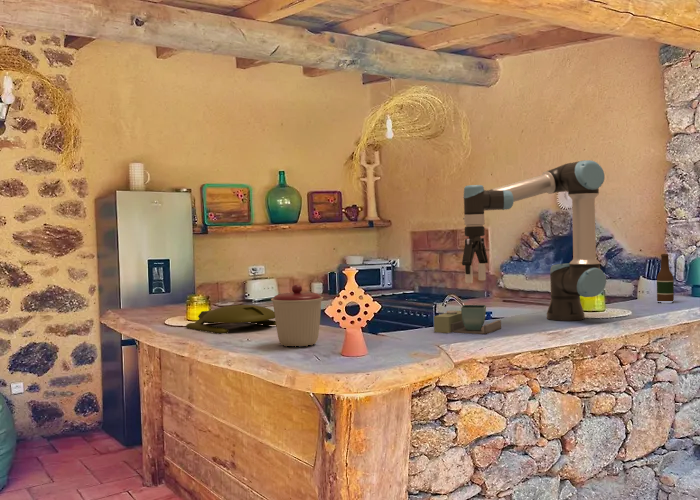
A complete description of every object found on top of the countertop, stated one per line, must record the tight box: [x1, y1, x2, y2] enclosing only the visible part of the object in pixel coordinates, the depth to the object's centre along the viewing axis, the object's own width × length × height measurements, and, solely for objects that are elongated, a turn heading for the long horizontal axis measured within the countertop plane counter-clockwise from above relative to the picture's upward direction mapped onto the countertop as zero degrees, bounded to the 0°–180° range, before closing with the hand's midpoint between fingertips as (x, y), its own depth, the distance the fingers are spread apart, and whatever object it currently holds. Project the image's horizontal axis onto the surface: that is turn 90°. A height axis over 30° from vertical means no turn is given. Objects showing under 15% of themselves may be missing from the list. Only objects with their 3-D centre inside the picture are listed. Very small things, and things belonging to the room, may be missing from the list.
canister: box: [270, 284, 324, 348], centre depth 243 cm, size 18×18×21 cm
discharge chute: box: [451, 319, 502, 335], centre depth 267 cm, size 14×16×3 cm
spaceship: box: [185, 304, 276, 334], centre depth 293 cm, size 35×31×10 cm
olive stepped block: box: [433, 310, 462, 334], centre depth 273 cm, size 6×20×7 cm, turn 148°
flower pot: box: [460, 304, 487, 331], centre depth 265 cm, size 9×9×9 cm
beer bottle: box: [656, 253, 675, 301], centre depth 342 cm, size 8×8×24 cm
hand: (475, 281), depth 267 cm, fingers open, 13 cm apart
